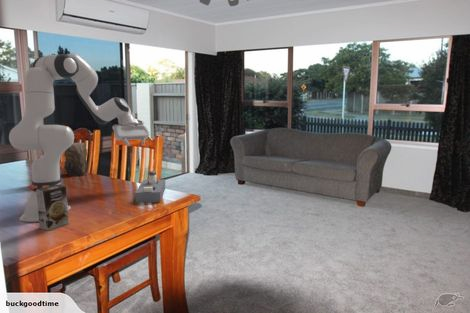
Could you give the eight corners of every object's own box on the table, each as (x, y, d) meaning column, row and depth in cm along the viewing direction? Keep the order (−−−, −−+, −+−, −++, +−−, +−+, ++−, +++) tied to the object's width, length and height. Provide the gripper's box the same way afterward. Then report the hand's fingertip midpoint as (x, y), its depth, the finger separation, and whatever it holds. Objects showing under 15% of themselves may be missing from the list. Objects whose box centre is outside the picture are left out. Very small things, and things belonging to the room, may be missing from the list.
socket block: (160, 202, 175) (160, 188, 173) (135, 202, 174) (135, 188, 172) (165, 188, 199) (165, 175, 198) (143, 188, 198) (143, 176, 197)
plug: (156, 192, 191) (155, 172, 188) (148, 192, 190) (148, 172, 188) (157, 190, 194) (156, 170, 192) (149, 190, 194) (149, 171, 192)
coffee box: (48, 231, 139) (44, 191, 136) (39, 227, 142) (35, 188, 139) (69, 223, 146) (66, 186, 143) (60, 220, 150) (57, 183, 147)
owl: (64, 175, 226) (61, 144, 222) (73, 171, 238) (70, 141, 235) (83, 175, 226) (81, 144, 222) (91, 171, 238) (89, 141, 234)
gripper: (113, 121, 191) (122, 142, 187) (145, 121, 206) (154, 141, 202) (108, 127, 195) (117, 149, 190) (140, 127, 210) (149, 147, 206)
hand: (136, 145), depth 196 cm, fingers open, 8 cm apart
